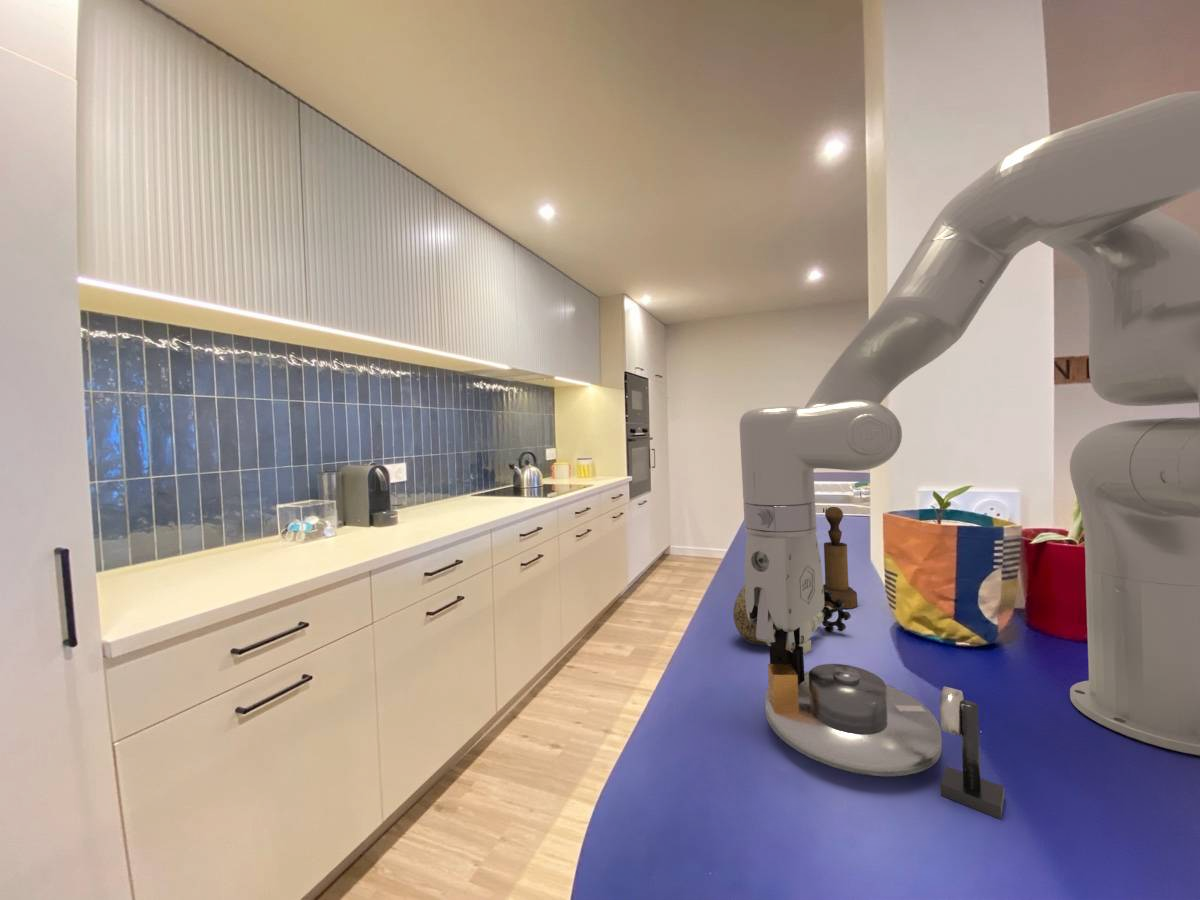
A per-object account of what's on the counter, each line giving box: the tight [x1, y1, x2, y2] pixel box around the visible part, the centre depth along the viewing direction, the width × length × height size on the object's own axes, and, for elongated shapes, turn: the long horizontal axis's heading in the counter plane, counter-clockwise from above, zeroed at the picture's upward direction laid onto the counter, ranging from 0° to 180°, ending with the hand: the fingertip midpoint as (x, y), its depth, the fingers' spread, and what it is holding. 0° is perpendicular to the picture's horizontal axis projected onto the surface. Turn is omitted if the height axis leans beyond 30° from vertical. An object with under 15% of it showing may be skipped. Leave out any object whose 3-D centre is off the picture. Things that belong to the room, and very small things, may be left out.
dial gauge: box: [939, 686, 1005, 820], centre depth 40 cm, size 4×4×9 cm
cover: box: [808, 663, 888, 735], centre depth 48 cm, size 7×7×4 cm
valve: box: [799, 590, 852, 655], centre depth 73 cm, size 7×7×12 cm
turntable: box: [764, 663, 942, 777], centre depth 49 cm, size 16×16×6 cm
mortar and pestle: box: [823, 506, 858, 609], centre depth 88 cm, size 7×6×18 cm
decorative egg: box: [732, 584, 776, 646], centre depth 73 cm, size 7×7×10 cm
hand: (787, 680), depth 53 cm, fingers closed
